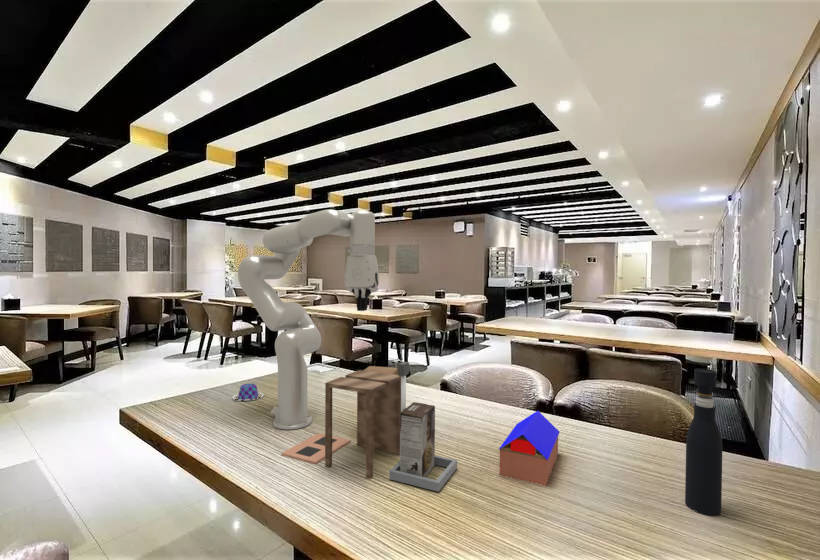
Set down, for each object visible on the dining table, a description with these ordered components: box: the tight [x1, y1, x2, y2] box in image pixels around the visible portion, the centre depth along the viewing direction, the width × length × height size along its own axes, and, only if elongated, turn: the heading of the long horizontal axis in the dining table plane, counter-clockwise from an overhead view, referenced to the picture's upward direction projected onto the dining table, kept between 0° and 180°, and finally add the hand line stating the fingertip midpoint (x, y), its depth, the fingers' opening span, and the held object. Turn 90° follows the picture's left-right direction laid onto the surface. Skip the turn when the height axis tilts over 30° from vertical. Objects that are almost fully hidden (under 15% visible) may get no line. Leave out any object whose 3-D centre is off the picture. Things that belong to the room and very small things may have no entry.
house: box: [498, 410, 560, 487], centre depth 108 cm, size 12×20×12 cm, turn 152°
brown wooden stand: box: [324, 369, 401, 480], centre depth 110 cm, size 14×16×22 cm
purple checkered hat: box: [231, 383, 265, 402], centre depth 165 cm, size 12×12×5 cm
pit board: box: [280, 432, 351, 465], centre depth 117 cm, size 12×16×1 cm
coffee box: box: [399, 401, 436, 478], centre depth 104 cm, size 9×6×16 cm
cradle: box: [388, 361, 458, 492], centre depth 102 cm, size 13×13×27 cm
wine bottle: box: [684, 368, 723, 517], centre depth 88 cm, size 6×6×30 cm
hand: (362, 310), depth 126 cm, fingers closed
